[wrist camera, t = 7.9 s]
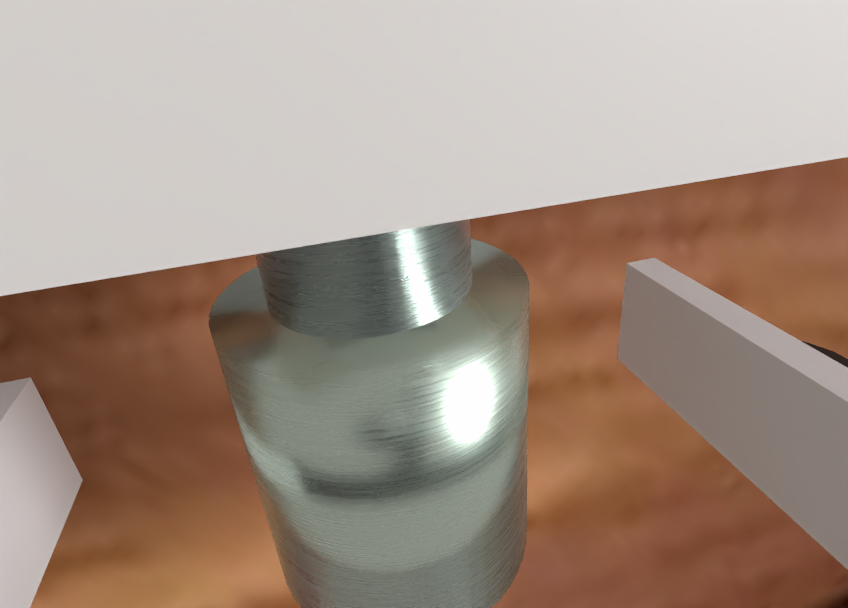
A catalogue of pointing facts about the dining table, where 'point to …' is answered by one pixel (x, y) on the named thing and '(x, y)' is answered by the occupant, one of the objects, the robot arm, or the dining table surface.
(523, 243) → the dining table surface
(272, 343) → the shaft
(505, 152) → the housing
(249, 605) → the dining table surface
